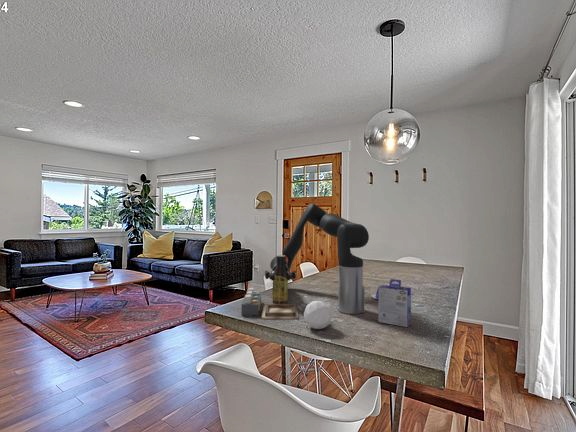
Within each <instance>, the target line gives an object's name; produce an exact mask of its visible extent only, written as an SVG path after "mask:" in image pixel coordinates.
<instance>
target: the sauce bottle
mask: <svg viewBox="0 0 576 432" xmlns="http://www.w3.org/2000/svg"><path fill="white" fill-rule="evenodd" d="M275 257H276V259H277V264H276V268H275V270H274V275H273V281H272V291H271V292H272V297H271V298H272V299H271V300H272V304H288V289H289V287H288V285H289V281H288V272H287V270H286V267H285V266H286V265H285V261H286V260H287V257H286V256H285V255H284V254H283V255H282V254H279V255H276V256H275ZM286 262H287V261H286Z"/></svg>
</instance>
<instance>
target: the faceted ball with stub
mask: <svg viewBox="0 0 576 432" xmlns="http://www.w3.org/2000/svg"><path fill="white" fill-rule="evenodd" d="M303 316H304V320H305V323H306V324H307V325H308V327H310V328H312V329H314V330H315V329H316V330H323V329H324V328H326V327H328V326H329V325H330V323H331V320H332V317H333V314H332V312H331V309H330V306H329V305H328V304H327V303H326V302H324V301H323V300H313V301H312V302H310V303H308V304H307V305H306V307H305V309H304V312H303Z"/></svg>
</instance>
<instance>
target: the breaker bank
mask: <svg viewBox="0 0 576 432" xmlns="http://www.w3.org/2000/svg"><path fill="white" fill-rule="evenodd" d="M254 288H255V287H249V288H248V289H247V291H246V293H245V295H244V297H243V298H244V299H243V301H242V302H241V313H240V314H241V315H258V316H259V314H258V313H260V309H261V305H262V292H255V289H254Z"/></svg>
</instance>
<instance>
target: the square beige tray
mask: <svg viewBox="0 0 576 432" xmlns="http://www.w3.org/2000/svg"><path fill="white" fill-rule="evenodd" d="M299 319H300V317H299V312H298V307H297V306H295V305H294V303H286V304H273V303H267V304H266V305H265V306H263V309H262V313H261V320H299Z"/></svg>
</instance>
